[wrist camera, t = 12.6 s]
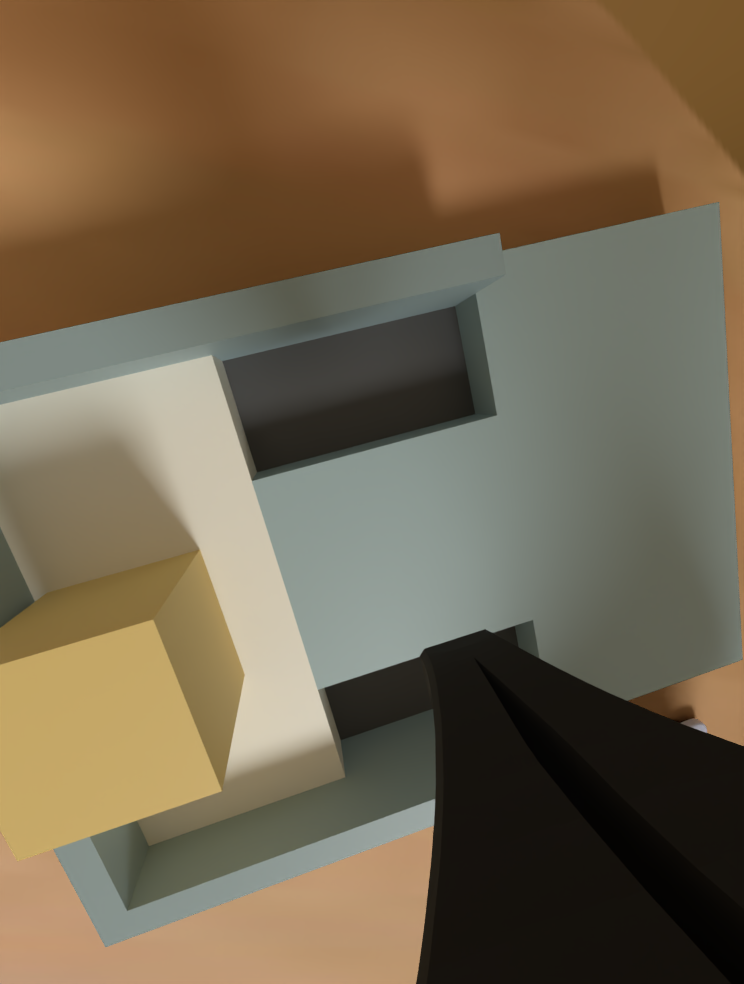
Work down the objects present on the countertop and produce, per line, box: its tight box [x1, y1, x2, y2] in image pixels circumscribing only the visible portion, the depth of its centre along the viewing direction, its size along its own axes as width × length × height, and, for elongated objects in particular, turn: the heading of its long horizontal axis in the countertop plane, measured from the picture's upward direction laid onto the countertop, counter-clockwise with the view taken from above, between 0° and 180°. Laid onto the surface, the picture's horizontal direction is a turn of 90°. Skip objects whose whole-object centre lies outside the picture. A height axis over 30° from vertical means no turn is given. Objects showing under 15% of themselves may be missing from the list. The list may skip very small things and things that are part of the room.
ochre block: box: [0, 550, 245, 861], centre depth 12 cm, size 4×4×4 cm
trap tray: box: [0, 202, 743, 947], centre depth 15 cm, size 17×24×4 cm
